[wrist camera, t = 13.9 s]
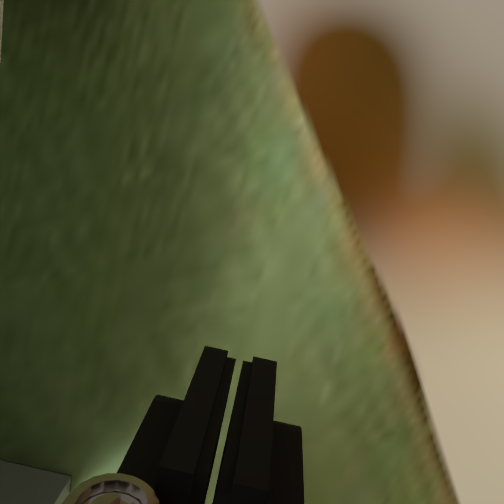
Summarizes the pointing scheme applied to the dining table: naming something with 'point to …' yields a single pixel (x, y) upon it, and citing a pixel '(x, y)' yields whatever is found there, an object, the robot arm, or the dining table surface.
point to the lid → (0, 19)
